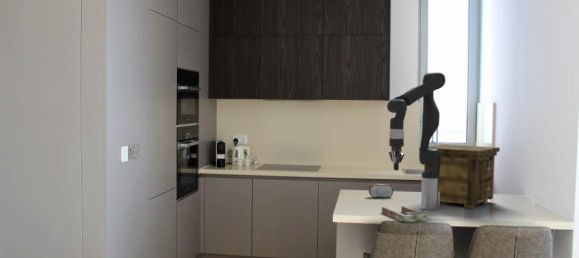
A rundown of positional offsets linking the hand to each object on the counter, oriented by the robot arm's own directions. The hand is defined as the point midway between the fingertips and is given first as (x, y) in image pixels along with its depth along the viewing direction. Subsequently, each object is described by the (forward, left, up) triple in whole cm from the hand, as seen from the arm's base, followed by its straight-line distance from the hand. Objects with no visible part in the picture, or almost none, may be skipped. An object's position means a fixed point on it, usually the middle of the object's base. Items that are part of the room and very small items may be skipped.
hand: (396, 170), depth 302 cm
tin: (-15, -47, -23) cm, 54 cm away
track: (0, +10, -23) cm, 25 cm away
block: (0, +18, -23) cm, 29 cm away
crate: (-52, -20, -23) cm, 60 cm away
